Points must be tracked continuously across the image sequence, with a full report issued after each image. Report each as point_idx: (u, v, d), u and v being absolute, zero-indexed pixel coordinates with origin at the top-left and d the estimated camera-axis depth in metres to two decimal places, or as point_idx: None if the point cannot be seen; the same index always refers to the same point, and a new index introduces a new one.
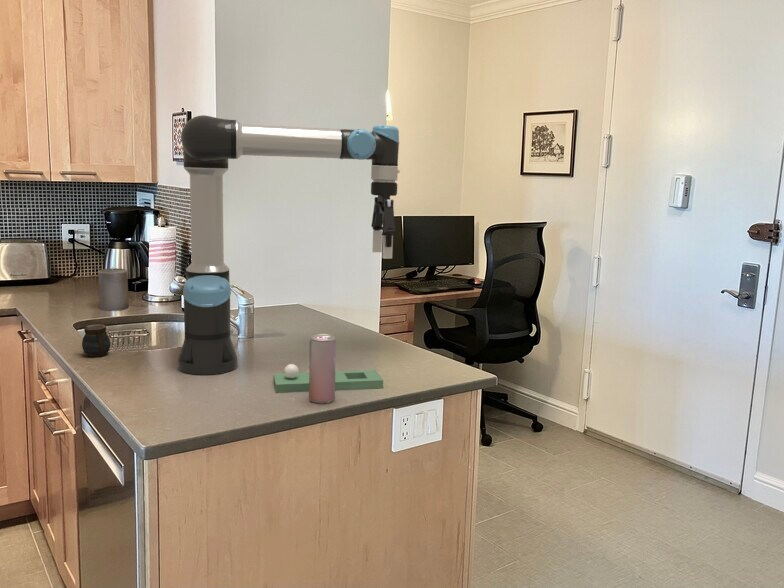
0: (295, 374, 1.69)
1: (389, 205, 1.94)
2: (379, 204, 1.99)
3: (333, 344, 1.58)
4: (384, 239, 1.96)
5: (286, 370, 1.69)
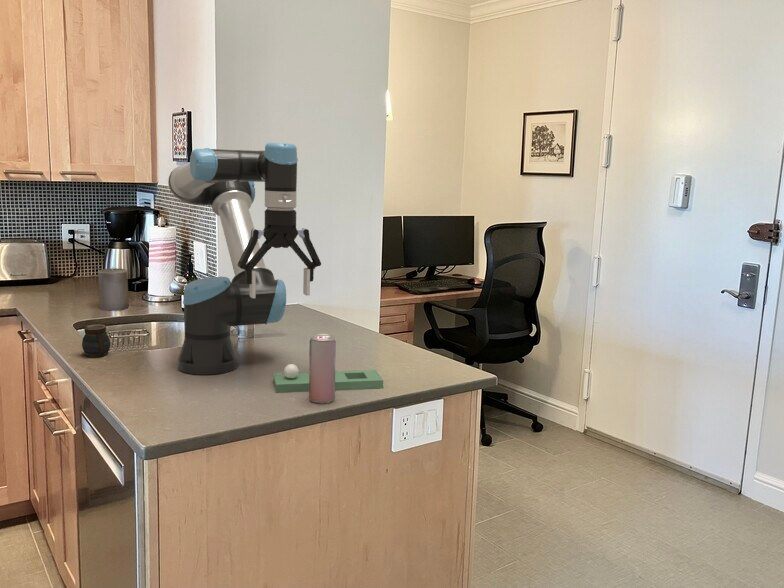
0: (295, 374, 1.69)
1: (252, 235, 1.66)
2: None
3: (333, 344, 1.58)
4: None
5: (286, 370, 1.69)
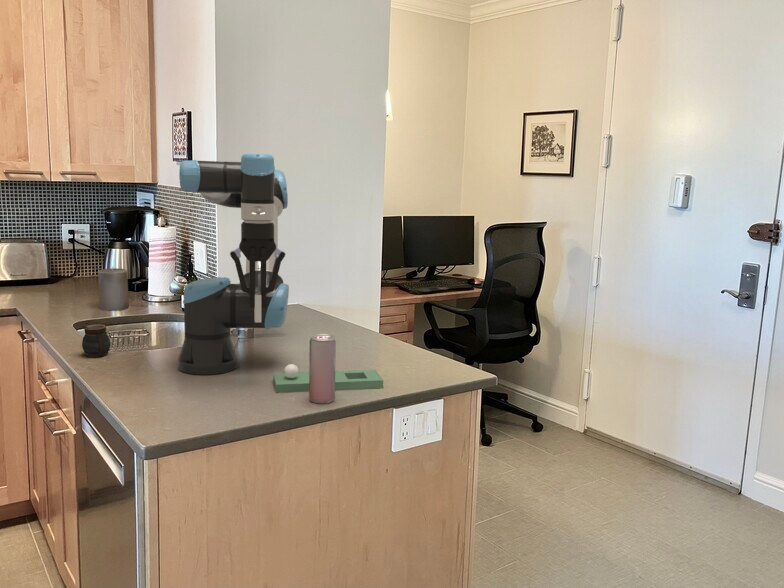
0: (295, 374, 1.69)
1: None
2: None
3: (333, 344, 1.58)
4: None
5: (286, 370, 1.69)
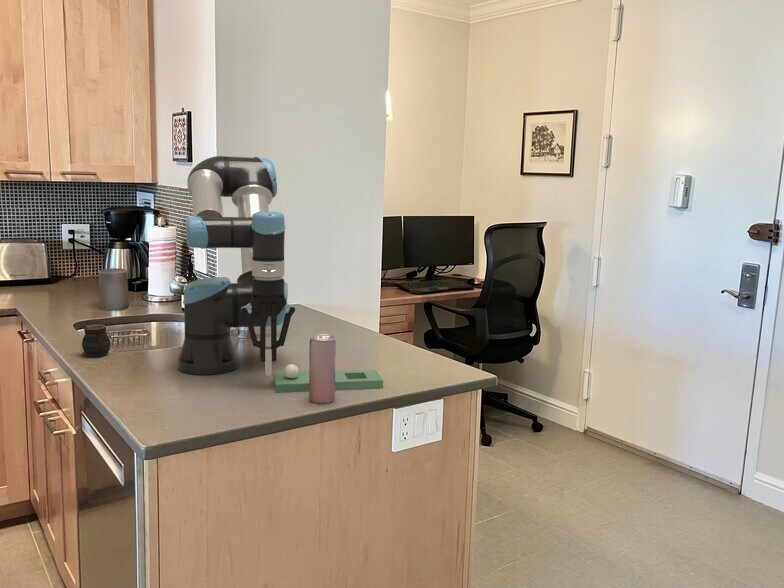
0: (295, 374, 1.69)
1: None
2: None
3: (333, 344, 1.58)
4: None
5: (286, 370, 1.69)
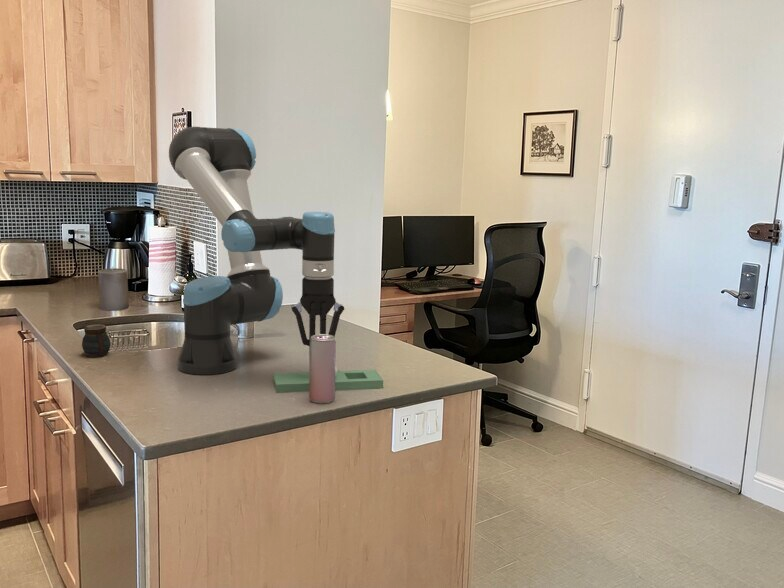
0: None
1: None
2: None
3: (333, 344, 1.58)
4: None
5: None
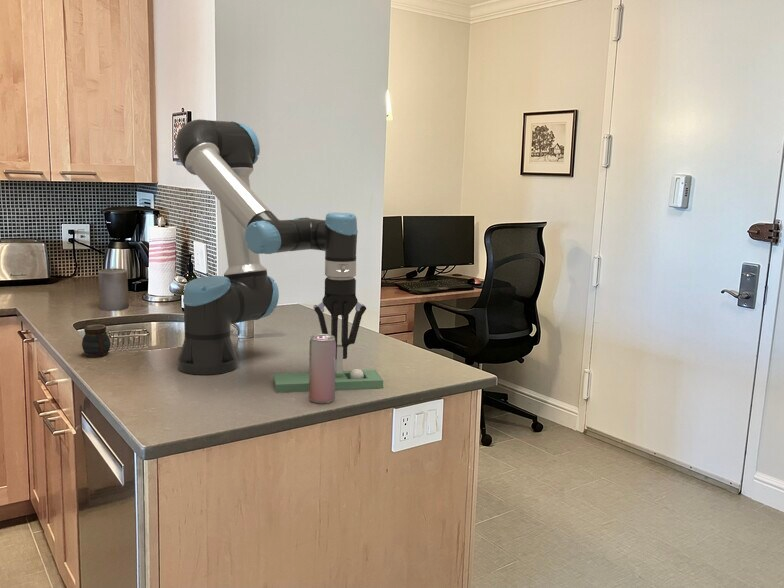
0: (353, 370, 1.75)
1: None
2: None
3: (333, 344, 1.58)
4: None
5: (362, 373, 1.75)
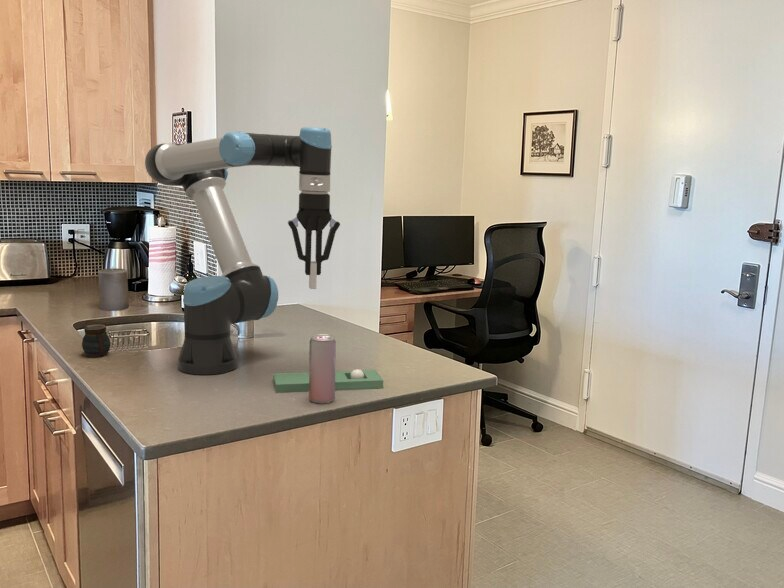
0: (354, 371, 1.74)
1: None
2: None
3: (333, 344, 1.58)
4: None
5: (363, 374, 1.74)
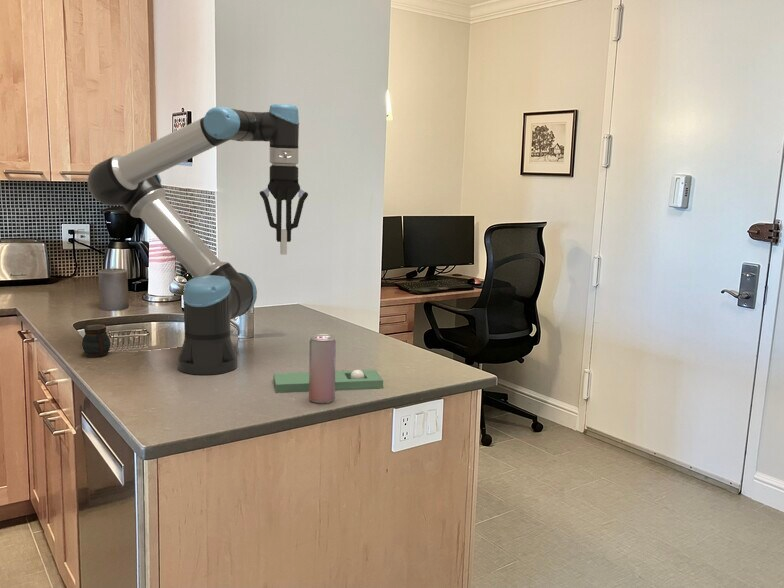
0: (354, 372, 1.74)
1: (262, 197, 1.85)
2: None
3: (333, 344, 1.58)
4: None
5: (363, 375, 1.74)
